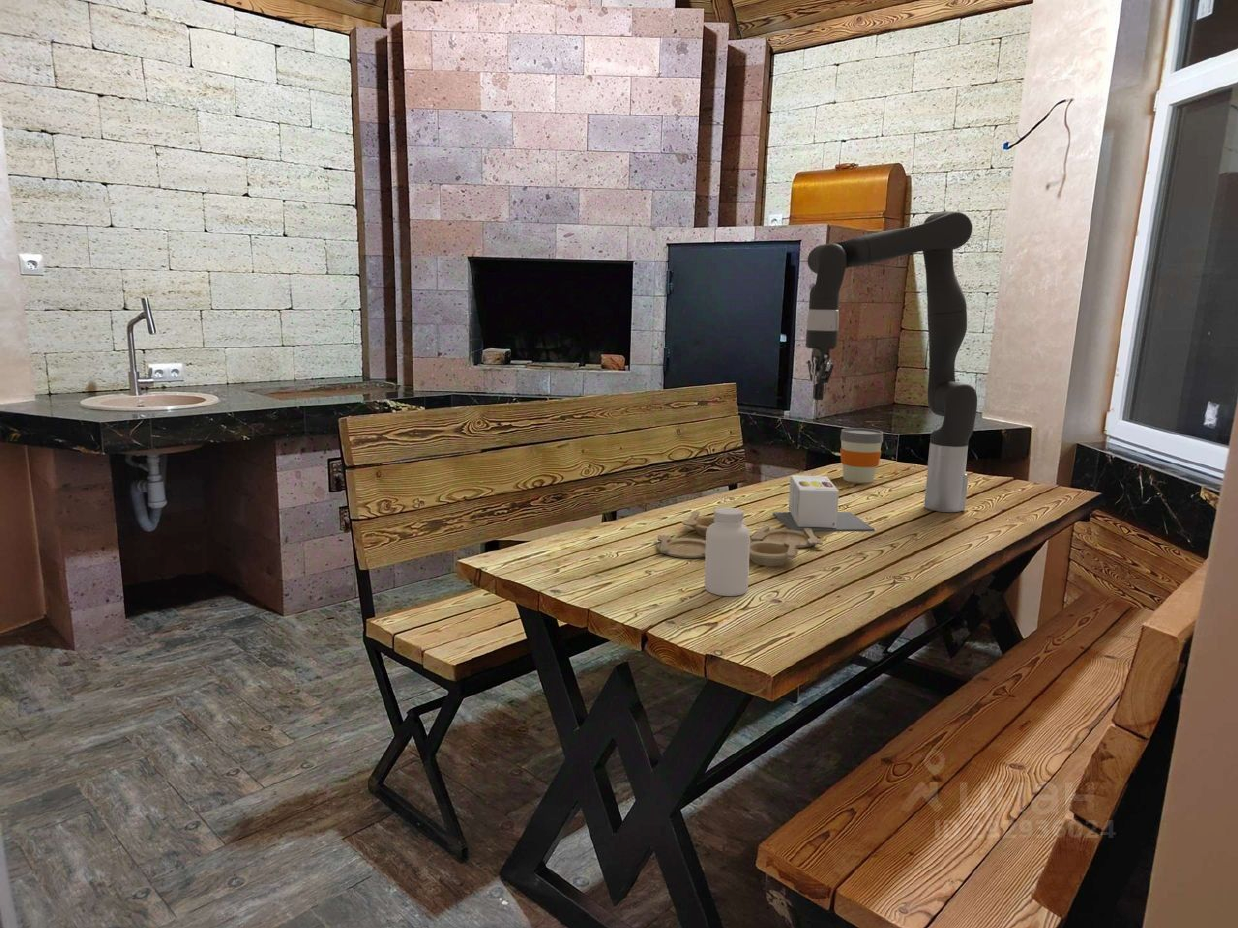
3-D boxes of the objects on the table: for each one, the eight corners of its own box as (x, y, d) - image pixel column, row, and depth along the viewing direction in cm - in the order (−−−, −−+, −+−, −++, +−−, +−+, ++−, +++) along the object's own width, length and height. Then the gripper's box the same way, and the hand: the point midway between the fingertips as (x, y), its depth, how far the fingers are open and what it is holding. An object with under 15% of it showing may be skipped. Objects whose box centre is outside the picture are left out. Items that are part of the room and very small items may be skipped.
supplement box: (827, 475, 206) (841, 490, 190) (825, 511, 208) (838, 529, 191) (789, 474, 207) (799, 489, 190) (787, 510, 208) (797, 527, 192)
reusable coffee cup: (853, 473, 258) (856, 426, 255) (888, 480, 249) (892, 432, 246) (828, 478, 250) (832, 430, 247) (864, 485, 241) (868, 435, 238)
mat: (849, 513, 208) (849, 512, 208) (874, 530, 192) (874, 529, 192) (772, 513, 206) (772, 512, 206) (791, 531, 190) (791, 529, 190)
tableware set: (827, 538, 186) (828, 521, 185) (813, 577, 159) (814, 557, 158) (678, 522, 197) (679, 506, 197) (642, 556, 170) (642, 538, 169)
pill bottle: (700, 582, 154) (703, 505, 151) (742, 582, 154) (746, 505, 151) (708, 597, 146) (711, 516, 143) (752, 597, 146) (756, 516, 144)
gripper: (847, 329, 193) (842, 403, 196) (828, 328, 206) (823, 396, 209) (816, 329, 192) (811, 402, 195) (799, 327, 205) (795, 396, 208)
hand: (817, 399), depth 202 cm, fingers closed
